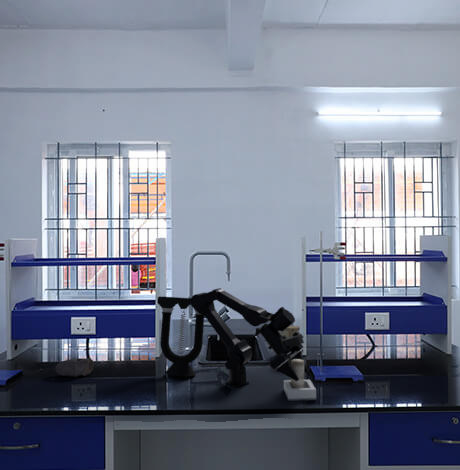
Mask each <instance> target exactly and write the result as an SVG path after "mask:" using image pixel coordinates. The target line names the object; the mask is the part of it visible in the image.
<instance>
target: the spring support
mask: <svg viewBox="0 0 460 470" xmlns="http://www.w3.org/2000/svg"><path fill="white" fill-rule="evenodd" d="M191 298H192V297H178V296H177V297H175V296H157V302H156V303H157V304H158V305H159V306H160V307H161V310H162V311H161V314H162V315H161V331H160V341H159V343H160V348H161V349H160V350H161V352H162V354H163V356H164V357H165V358H166V359H167V360H168V361H169V362H170V363H172V364H171V365H170V366H169V367H168V369H166V371H165V372H164V374H165V375H167V376H171V377H180V378H181V377H194V376H196V375H197V374H196V371H194V369H193V368H192V366H191V365H190V364H191V363H192V362H194V361H196V360H197V358H198V357H199V356H200V354H201V352H202V349H203V344H204V343H203V341H204V325H205V324H204V323H205V316H203V315H201V314H200V313H198V312H197V311H196V310H195V309H194V308H193V310H194V315H195V320H194V321H195V323H194V339H193V341H194V342H193V347H192V349H191V351H189V353H187V354H185V355H183V353H184V345H185V344H184V341H185V340H184V339H185V338H184V337H185V330H186V329H185V328H186V327H185V326H186V325H185V324H186V323H185V322H186V311H185V310H187V309H188V308H189V306H191V303H190V302H191ZM177 305H178V306H179V308H180V311H181V312H182V314H180V323H179V324H180V326H179V339H178V340H179V341H178V350H177V351H178V354H176V353H174V352H173V351H172V348H171V346H170V334H171V333H170V332H171V321H172V320H171V318H172V314H173V311H174V310H175V308H174V307H176V306H177ZM180 354H181V355H180Z"/></svg>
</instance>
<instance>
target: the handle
mask: <svg viewBox="0 0 460 470" xmlns="http://www.w3.org/2000/svg"><path fill="white" fill-rule="evenodd" d="M285 330H286V331H287V332H288V334H289V336H288V338H289V337H292V336H293V333H295V332H299V331H300V330H301V327H300V326H298V325H290V326H289V327H288V328H287V329H285ZM289 359H291V358H288V360H289Z"/></svg>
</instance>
